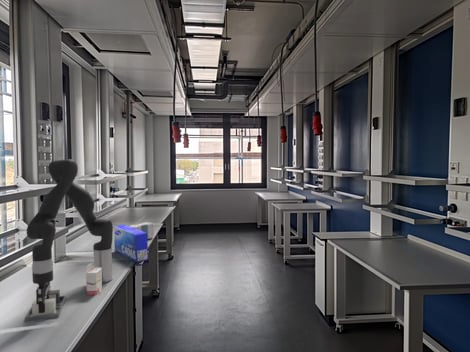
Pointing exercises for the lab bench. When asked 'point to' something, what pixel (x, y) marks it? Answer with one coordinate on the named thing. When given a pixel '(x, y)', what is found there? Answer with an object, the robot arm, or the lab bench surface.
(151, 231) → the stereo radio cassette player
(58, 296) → the block
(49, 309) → the block
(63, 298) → the tray with compartments
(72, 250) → the lab bench surface
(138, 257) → the toner cartridge box
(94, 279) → the ink cartridge box
